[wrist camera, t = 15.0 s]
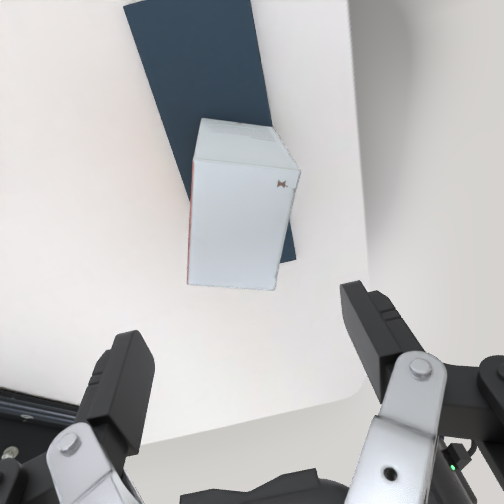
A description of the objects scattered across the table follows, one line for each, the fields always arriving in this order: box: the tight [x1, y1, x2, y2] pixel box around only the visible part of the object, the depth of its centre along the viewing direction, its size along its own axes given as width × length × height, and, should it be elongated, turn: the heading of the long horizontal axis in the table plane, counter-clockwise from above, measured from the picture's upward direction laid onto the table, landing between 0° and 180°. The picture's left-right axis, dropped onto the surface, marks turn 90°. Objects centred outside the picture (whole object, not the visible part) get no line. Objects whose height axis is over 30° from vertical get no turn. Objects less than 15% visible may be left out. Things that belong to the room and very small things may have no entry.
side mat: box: [123, 0, 296, 264], centre depth 27 cm, size 22×8×1 cm, turn 12°
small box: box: [187, 118, 301, 291], centre depth 23 cm, size 8×6×10 cm
